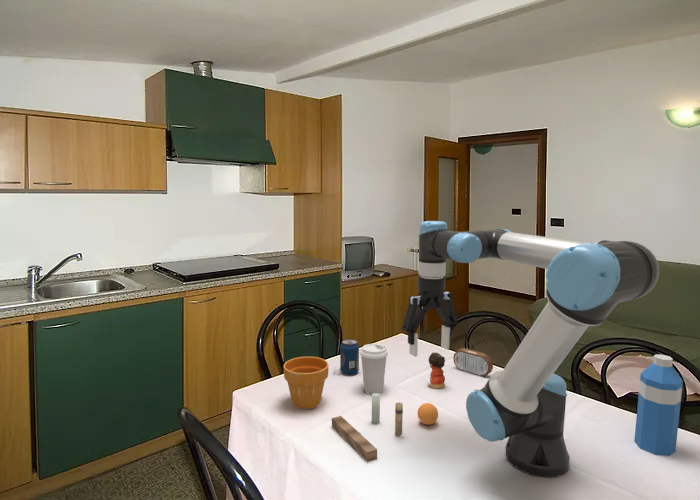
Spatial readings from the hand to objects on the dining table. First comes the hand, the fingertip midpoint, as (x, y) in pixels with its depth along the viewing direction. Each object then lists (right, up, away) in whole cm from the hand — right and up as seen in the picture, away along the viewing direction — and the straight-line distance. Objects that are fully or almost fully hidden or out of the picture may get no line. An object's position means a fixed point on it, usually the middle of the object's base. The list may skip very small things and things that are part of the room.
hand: (429, 351), depth 136 cm
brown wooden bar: (-22, -23, -7) cm, 33 cm away
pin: (-9, -23, -3) cm, 25 cm away
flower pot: (-37, -20, +16) cm, 45 cm away
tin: (+23, -17, +40) cm, 49 cm away
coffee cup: (-15, -19, +26) cm, 35 cm away
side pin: (-15, -22, +4) cm, 27 cm away
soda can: (-23, -17, +40) cm, 49 cm away
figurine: (+7, -18, +29) cm, 35 cm away
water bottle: (+59, -24, -9) cm, 64 cm away
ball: (0, -19, +3) cm, 19 cm away
